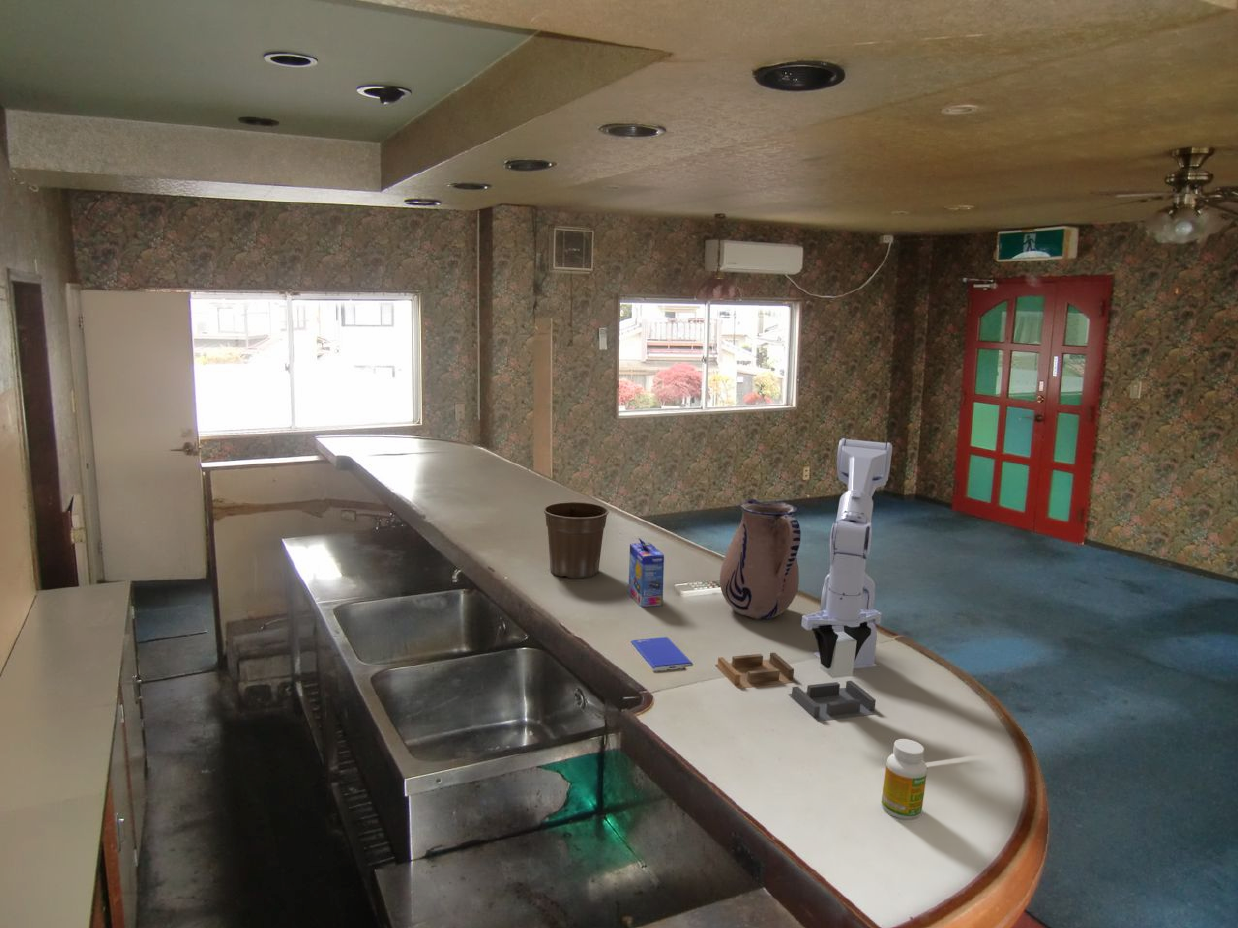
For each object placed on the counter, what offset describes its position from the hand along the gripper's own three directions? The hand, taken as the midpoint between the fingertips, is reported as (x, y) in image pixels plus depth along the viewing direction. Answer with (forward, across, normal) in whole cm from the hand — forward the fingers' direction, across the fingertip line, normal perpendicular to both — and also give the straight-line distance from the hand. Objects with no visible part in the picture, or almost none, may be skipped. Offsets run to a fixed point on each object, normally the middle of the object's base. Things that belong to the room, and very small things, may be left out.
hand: (836, 664), depth 146 cm
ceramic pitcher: (+8, +8, +42) cm, 44 cm away
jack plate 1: (+8, -8, +14) cm, 18 cm away
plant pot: (+8, -26, +78) cm, 83 cm away
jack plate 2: (+8, 0, 0) cm, 8 cm away
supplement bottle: (+8, -7, -29) cm, 31 cm away
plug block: (+1, 0, 0) cm, 1 cm away
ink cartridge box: (+8, -15, +56) cm, 59 cm away
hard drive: (+9, -22, +26) cm, 35 cm away
